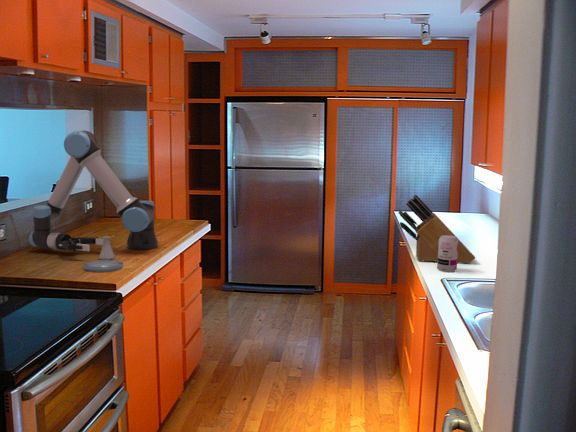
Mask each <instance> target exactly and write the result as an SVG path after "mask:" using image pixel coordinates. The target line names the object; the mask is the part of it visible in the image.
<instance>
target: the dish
mask: <svg viewBox="0 0 576 432" xmlns="http://www.w3.org/2000/svg"><path fill="white" fill-rule="evenodd" d="M82 267H83V270H84V271H85V272H90V273H110V272H111V273H113V272H117V271H120V270H122V269H124V262H122V261H120V260H114V259H111V260H101V259H98V260H91V261H88V262H85V263H84V264H83V265H82Z"/></svg>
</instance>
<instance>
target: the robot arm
mask: <svg viewBox="0 0 576 432" xmlns="http://www.w3.org/2000/svg"><path fill="white" fill-rule="evenodd" d="M63 147H64V148H63V149H64V151H65V153H66V154H67V155H69V159H68V162H67V163H66V165H65V166H64V167H65V168H64V170H63V171H62V173H61V176H60V177H59V179H58V181H57V183H56V186H55V187H54V189H53V191H52V193H51V195H50V197H49V199H48V202H47V203H46V205H35V206H34V207H33V208H32V210H33V211H32V217H33V231H31V232H30V233H29V237H28V243H29V244H30V245H31V246H33V247H35V248H39V249H41V248H44V249H53V250H54V251H56V250H63V251H70V252H71V251H72V252H76V251H81V252H82V251H84V252H90V250H91V249H90V248H91V247H90V245H99V246H103V238H99V237H98V236H95V237H93V236H92V237H91V236H89V237H85V236H84V237H83V236H80V237H79V236H78V237H72V236H71V235H70V234H69V233H64V232H53V231H52V223H54V222H56V221H58V220H60V218H61V217H62V214H63V213H62V211H63V209H64V207H65V205H66V204H67V201H68V199H69V197H70V195H71V193H72V191H73V189H74V188H75V186H76V183H77V182H78V180H79V178H80V175H81V174H82V172H83V170H84V168H85V169H86V170H87V171H88V172H89V173H90V175H91V176H92V177H93V179H94V180H95V181H96V183H97V184H98V185H99V186H100V187H101V189H102V190H103V191H104V193H105V194H106V195H107V197H108V198H109V199H110V201H111V202H112V203H113V204H114V206H115V208H116V214H117V215H118V217H120V219H121V222H122V225H123V226H124V228H125V229H126V230H127V231H129V234H128V237H127V240H126V248H127V249H129V250H130V249H131V250H150V249H151V250H152V249H156V248H158V246H159V241H158V238H157V235H156V232H155V203H154V201H153V200H139V198H138V197H134V196H133V195H132V194H131V193H130V192H129V191H128V189H127V187H125V185H124V184H123V183H122V181H121V180H120V179H119V177H118V176H117V175H116V174H115V172H114V171H113V170H112V169H111V167H110V165H108V163H107V162H106V161H105V159H104V158H103V157H102V155H101V152H102V151H101V148H99V146H98V140H97V137H96V135H94V134H93V133H92V132H91V131H87V130H74V131H72V132H70V133H68V134H67V135H66V137H65V138H64V140H63Z"/></svg>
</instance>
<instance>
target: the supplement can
mask: <svg viewBox="0 0 576 432" xmlns="http://www.w3.org/2000/svg"><path fill="white" fill-rule="evenodd" d="M457 238H458V236H456V235H455V236H451V235H442V236H441V237H440V239H439V246H438V261H436V262H437V266H436V268H437V270H438V271H440V272H443V273H454V272H455V271H457V269H458V268H457V267H458V262H457V255H458V239H459V238H458V239H457Z"/></svg>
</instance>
